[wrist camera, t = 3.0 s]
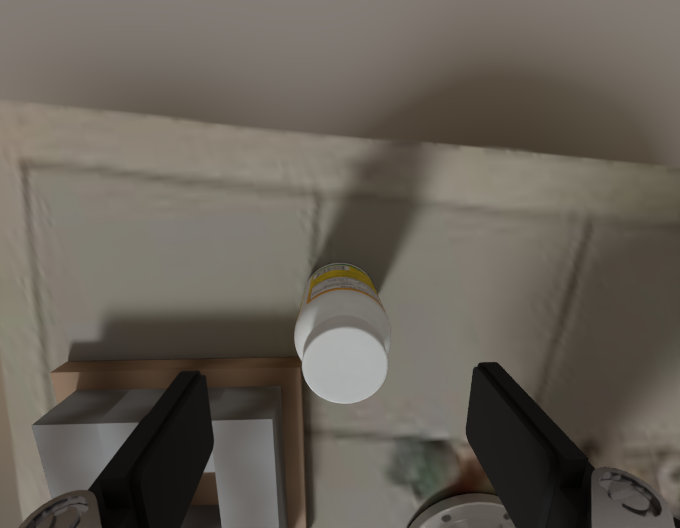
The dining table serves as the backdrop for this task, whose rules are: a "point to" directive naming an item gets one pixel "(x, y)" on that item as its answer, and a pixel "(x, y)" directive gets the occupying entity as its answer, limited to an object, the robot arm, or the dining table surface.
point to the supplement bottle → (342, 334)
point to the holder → (228, 428)
